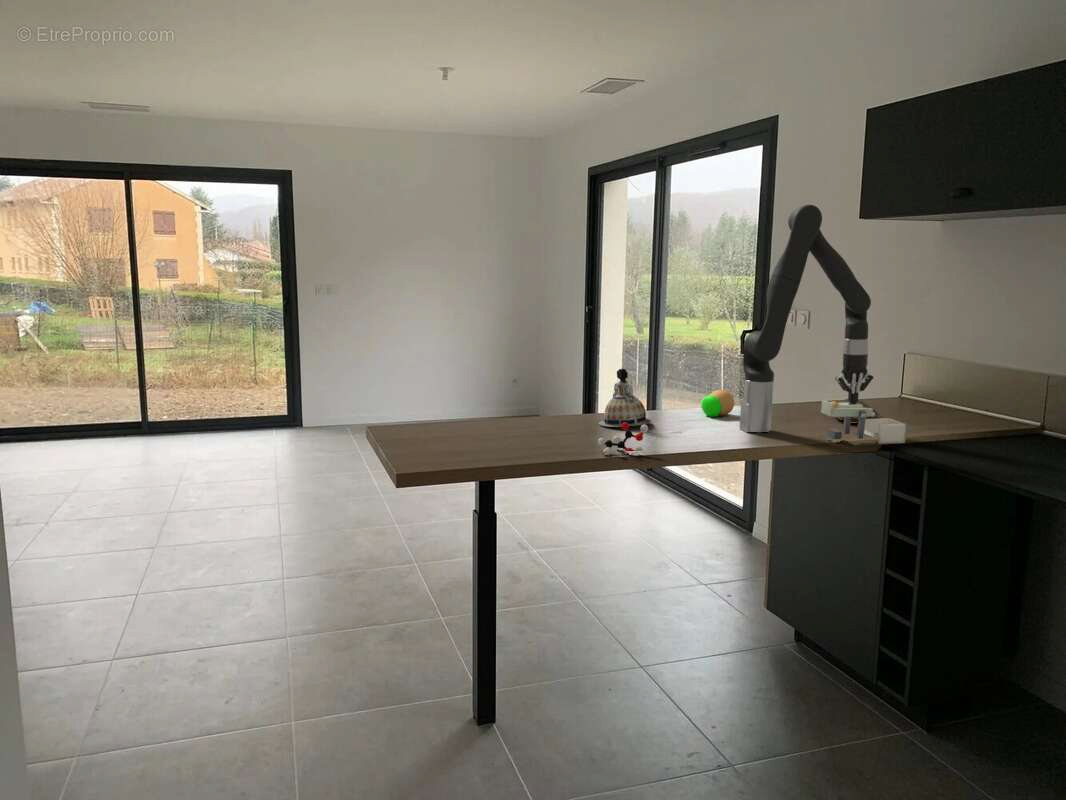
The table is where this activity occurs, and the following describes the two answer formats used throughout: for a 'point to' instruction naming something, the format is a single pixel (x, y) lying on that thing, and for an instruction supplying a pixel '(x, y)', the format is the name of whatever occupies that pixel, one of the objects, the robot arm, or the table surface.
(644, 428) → the molecular model
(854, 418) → the turtle shell
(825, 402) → the lever
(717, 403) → the green and tan spheres
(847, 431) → the fulcrum
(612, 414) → the figurine
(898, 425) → the white open box
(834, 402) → the ball
